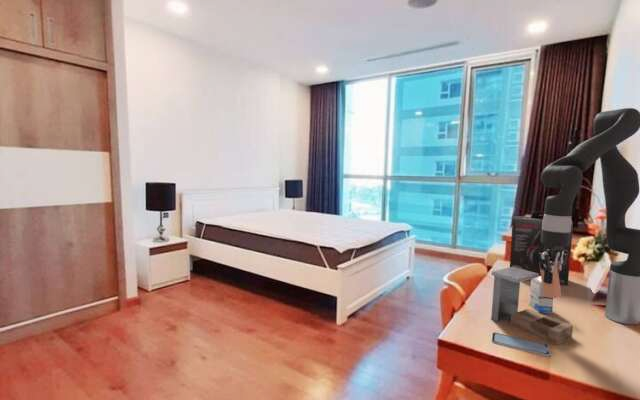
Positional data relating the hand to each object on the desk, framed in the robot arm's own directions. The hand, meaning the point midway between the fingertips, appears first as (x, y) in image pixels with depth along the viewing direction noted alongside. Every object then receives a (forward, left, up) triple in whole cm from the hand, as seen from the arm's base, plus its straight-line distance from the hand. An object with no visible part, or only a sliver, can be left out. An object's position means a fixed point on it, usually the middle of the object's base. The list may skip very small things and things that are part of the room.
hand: (551, 281), depth 106 cm
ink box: (-20, -12, -18) cm, 29 cm away
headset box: (-59, -33, -18) cm, 70 cm away
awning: (0, -11, -17) cm, 21 cm away
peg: (0, +1, -5) cm, 5 cm away
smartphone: (+14, -1, -18) cm, 23 cm away
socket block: (0, -2, -17) cm, 18 cm away
